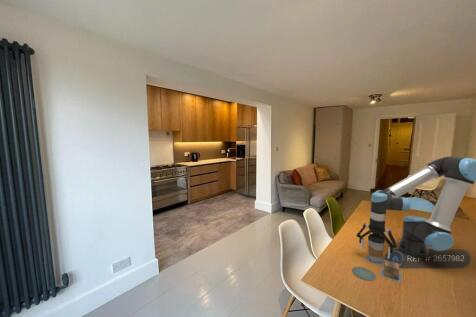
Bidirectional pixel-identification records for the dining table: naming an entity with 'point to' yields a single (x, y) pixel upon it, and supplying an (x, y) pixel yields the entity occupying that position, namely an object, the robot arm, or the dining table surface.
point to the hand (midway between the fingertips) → (374, 252)
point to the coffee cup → (375, 247)
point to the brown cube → (391, 269)
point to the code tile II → (391, 278)
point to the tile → (374, 262)
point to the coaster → (363, 273)
